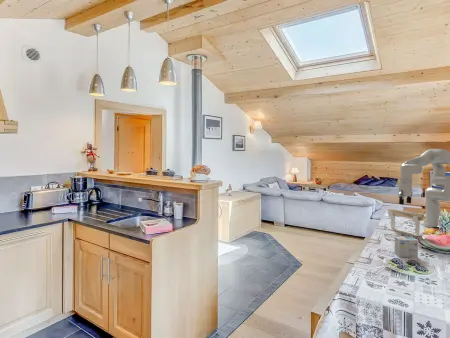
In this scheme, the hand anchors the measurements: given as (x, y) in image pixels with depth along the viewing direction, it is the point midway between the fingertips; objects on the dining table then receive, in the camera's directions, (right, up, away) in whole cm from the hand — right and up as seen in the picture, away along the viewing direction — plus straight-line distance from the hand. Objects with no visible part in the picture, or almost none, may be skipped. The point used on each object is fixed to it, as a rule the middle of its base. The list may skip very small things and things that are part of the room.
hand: (405, 203), depth 220 cm
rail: (+1, -10, +1) cm, 10 cm away
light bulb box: (-28, -26, -45) cm, 59 cm away
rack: (+1, -22, +2) cm, 22 cm away
